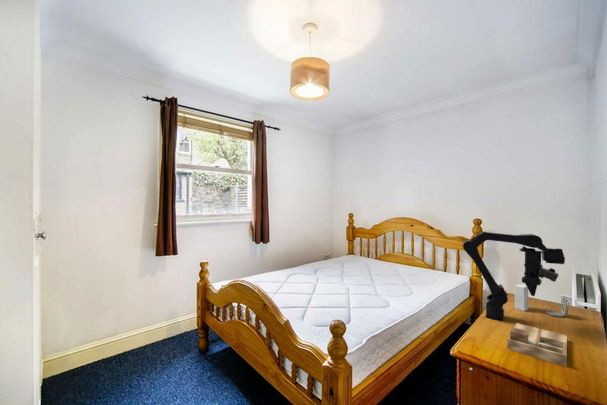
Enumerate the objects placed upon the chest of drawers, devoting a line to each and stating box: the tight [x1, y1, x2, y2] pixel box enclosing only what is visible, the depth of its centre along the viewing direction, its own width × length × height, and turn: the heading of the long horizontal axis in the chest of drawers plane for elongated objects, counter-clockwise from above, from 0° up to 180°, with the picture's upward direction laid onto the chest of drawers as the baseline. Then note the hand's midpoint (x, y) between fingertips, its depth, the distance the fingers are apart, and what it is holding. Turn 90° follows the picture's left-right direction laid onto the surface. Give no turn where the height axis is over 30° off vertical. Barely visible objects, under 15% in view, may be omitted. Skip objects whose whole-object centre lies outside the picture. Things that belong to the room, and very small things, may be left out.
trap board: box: [507, 322, 568, 368], centre depth 104 cm, size 16×25×4 cm, turn 135°
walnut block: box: [509, 326, 528, 344], centre depth 103 cm, size 5×5×4 cm
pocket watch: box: [545, 295, 569, 318], centre depth 133 cm, size 8×8×10 cm
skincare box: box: [514, 284, 530, 312], centre depth 141 cm, size 6×4×12 cm
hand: (533, 295), depth 123 cm, fingers closed
